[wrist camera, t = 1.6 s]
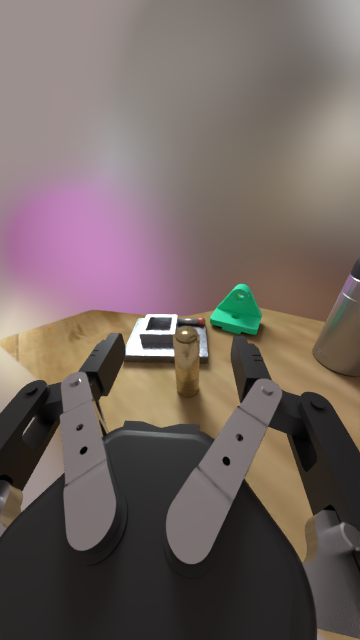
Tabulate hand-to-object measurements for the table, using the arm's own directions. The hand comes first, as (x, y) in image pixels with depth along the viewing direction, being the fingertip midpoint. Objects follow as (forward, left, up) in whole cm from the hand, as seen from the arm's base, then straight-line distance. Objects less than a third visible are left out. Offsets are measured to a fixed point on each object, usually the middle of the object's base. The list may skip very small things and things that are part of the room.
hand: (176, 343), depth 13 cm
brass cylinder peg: (0, -11, -20) cm, 23 cm away
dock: (+5, -24, -20) cm, 32 cm away
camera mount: (-12, -31, -21) cm, 39 cm away
